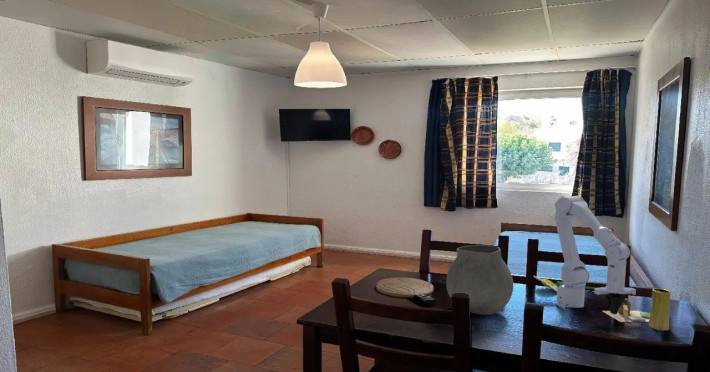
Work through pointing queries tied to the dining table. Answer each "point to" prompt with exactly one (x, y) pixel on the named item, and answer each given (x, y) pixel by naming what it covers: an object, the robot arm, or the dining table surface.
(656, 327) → the vase
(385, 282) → the trivet
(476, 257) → the ceramic pot
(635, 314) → the tuner board
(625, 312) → the knob
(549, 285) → the decorative flower
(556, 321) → the dining table surface
